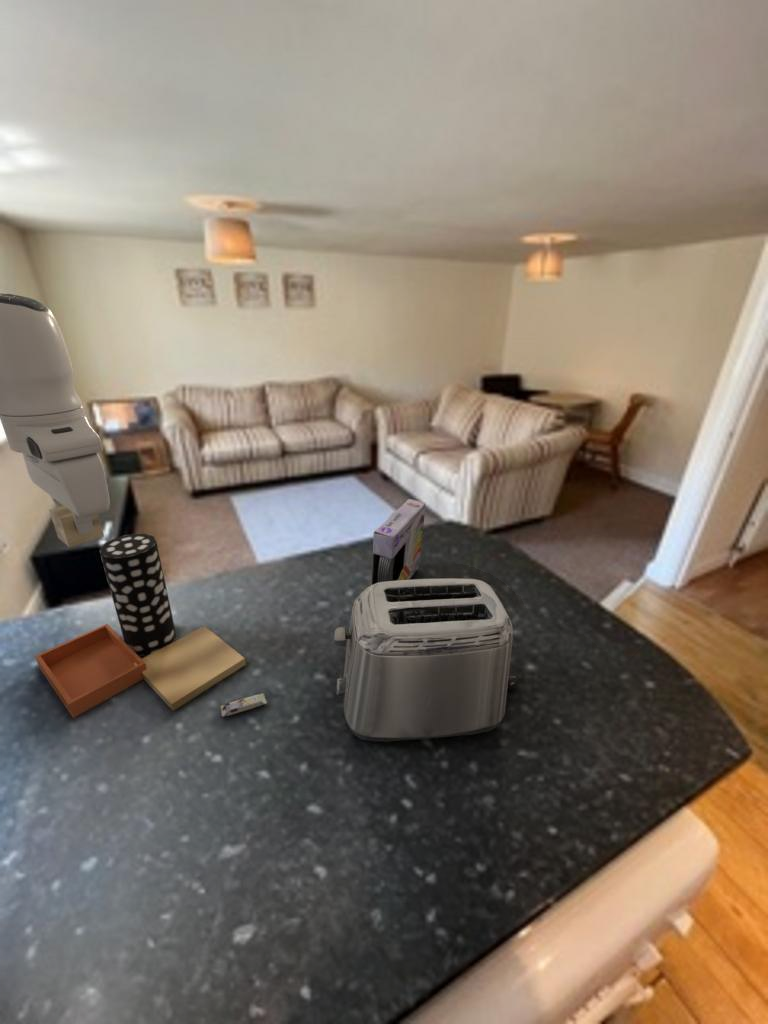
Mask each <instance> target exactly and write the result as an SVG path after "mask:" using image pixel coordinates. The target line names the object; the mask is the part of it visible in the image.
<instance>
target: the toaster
mask: <svg viewBox="0 0 768 1024" xmlns="http://www.w3.org/2000/svg"><path fill="white" fill-rule="evenodd" d="M513 640H514V630H513V624H512V621H511V618H510V617H509V615H508V612H507V610H506V608H505V607H504V605H503V603H502V602H501V600H500V598H499V597H498V595H497V593H496V592H495V591H494V589H493V588H492V587H491V585H489V584H488V583H487V582H485V581H483V580H481V579H475V578H417V579H410V580H398V581H387V582H379V583H376V584H374V585H372V584H371V585H369V586H368V587H366V588H365V589H364V590H362V591H361V592H360V593H359V594H358V595H357V597H356V598H355V600H354V601H353V605H352V609H351V615H350V622H349V629H348V632H347V629H346V626H339V627H336V629H335V630H334V638H333V641H334V644H335V645H336V646H337V647H345V646H346V651H345V660H344V668H343V669H344V670H343V677H337V679H336V687H335V688H336V689H335V692H336V693H335V694H336V695H337V696H342V697H343V713H344V718H345V721H346V723H347V725H348V728H349V730H350V732H351V733H352V734H353V735H354V736H355V737H356V738H358V739H360V740H362V741H366V742H375V743H377V742H378V743H390V742H391V743H392V742H396V741H409V740H411V741H412V740H427V739H439V738H440V739H441V738H450V737H457V736H473V735H478V734H482V733H489V732H491V731H492V730H495V729H496V728H497V727H498V726H499V725H500V724H501V723H502V721H503V719H504V717H505V714H506V705H507V698H508V697H507V696H508V691H511V687H512V686H514V685H516V682H515V681H512V679H516V678H517V676H515V675H511V676H510V669H511V668H510V667H511V659H512V650H513V649H512V648H513ZM346 641H347V643H346ZM511 681H512V682H511Z"/></svg>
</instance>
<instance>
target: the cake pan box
mask: <svg viewBox="0 0 768 1024" xmlns="http://www.w3.org/2000/svg"><path fill="white" fill-rule="evenodd" d="M426 505H427V504H426V502H422V501H419V500H414V499H411V498H408V499H407V500H406V501H405V502H404V503H403V504H402V505H401V506H400V507H399V508H398V509H395V511H394V512H392V513H391V514H390V515H389V516H388V517H387V519H386V520H385V521H384V522H383V523H381V525H380V526H379V527H378V528H376V529H374V531H373V541H372V542H373V543H372V565H371V566H372V567H371V569H372V570H371V586H372V585H374V584H376V583H379V582H387V581H398V580H411V578H412V577H413V576H414V574H415V573H416V572H417V570H418V569H419V568H420V563H421V554H422V545H423V544H422V543H423V532H424V524H425V517H426V516H425V515H426V514H425V513H426ZM418 565H419V566H418ZM417 566H418V568H417ZM416 568H417V569H416ZM414 571H415V572H414ZM413 572H414V573H413Z"/></svg>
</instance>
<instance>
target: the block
mask: <svg viewBox="0 0 768 1024" xmlns="http://www.w3.org/2000/svg"><path fill="white" fill-rule="evenodd" d="M49 514H50V517H51V521H52V524H53V525H54V530H55V533H56V536H57V538H58V539H59V540H60V541H61V542H62V543H64V544H65V545H66V546H67V547H68V548H73V547H76V546H79V545H82V544H85V543H88V542H91V541H94V540H98V539H101V538H103V537H105V534H104V530H103V526H102V523H101V520H100V517H99V514H97V515H94V516H92V520H91V521H92V524H93V528H94V530H93V532H91V533H88V534H85V535H81V534H79V533H78V532H77V531H76V529H75V526H74V523H73V521H74V517H73V514H72V513H71V511H70V510H69V509H67V508H66V507H65V506H61V507H54V508H50V509H49Z"/></svg>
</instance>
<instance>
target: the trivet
mask: <svg viewBox="0 0 768 1024" xmlns="http://www.w3.org/2000/svg"><path fill="white" fill-rule="evenodd" d="M141 659H142V660H143V661H144V662H145V663H146V667H147V669H146V670H145V671H143V672H142V676H143V679H142V680H144V681H145V683H147V685H148V686H149V687H150V688H151V689H152V690H153V691H154V692H155V693H156V694H157V696H158V697H159V698H160V699H161V700H162V701H164V703H165V704H166V705H167V707H169V708H170V709H171V711H173V712H174V711H176V710H177V709H179V708H181V707H182V706H183V705H185V704H187V703H188V702H190V701H191V700H193V699H194V698H196V697H198V696H199V695H201V694H202V693H204V692H206V691H207V690H208V689H210V688H211V687H213V686H215V685H216V684H218V683H219V682H221V681H223V680H224V679H226V678H228V677H229V676H230V675H232V674H234V673H235V672H237V671H238V670H240V669H242V668H243V667H245V666H246V664H247V663H246V658H245V657H244V656H243V655H242V654H241V653H239V652H238V651H236V649H234V648H233V647H231V646H230V645H229V644H228V643H226V642H225V641H224V640H223V639H221V638H220V637H219V636H218V635H217V634H215V633H214V632H213V631H211V630H210V629H209V628H208V627H206V626H205V625H203V626H201V627H200V628H198V629H196V630H195V629H194V631H192V632H190V633H188V634H186V635H184V636H182V637H179V639H175V640H174V641H173V642H172V643H171V644H169V645H167V646H165V647H163V648H161V649H159V650H157V651H156V652H154V653H152V654H150V655H145V656H144V657H142V658H141ZM133 664H134V667H135V666H136V665H137V664H136V663H133Z"/></svg>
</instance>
